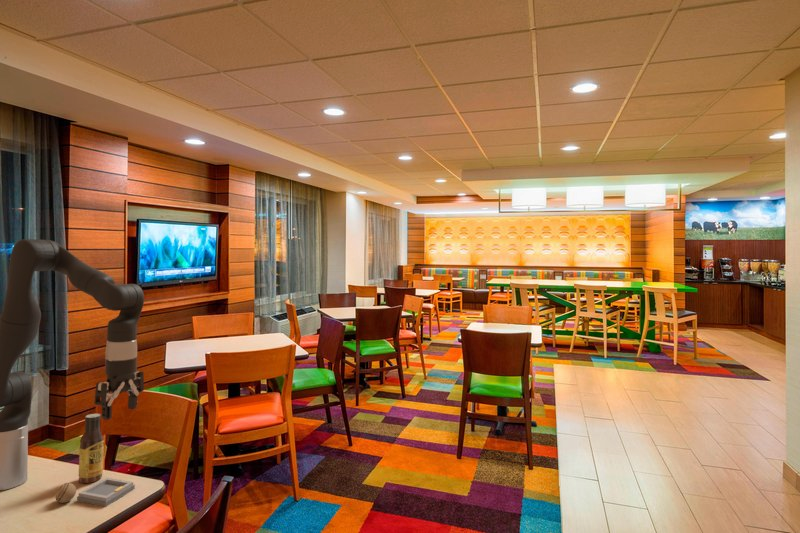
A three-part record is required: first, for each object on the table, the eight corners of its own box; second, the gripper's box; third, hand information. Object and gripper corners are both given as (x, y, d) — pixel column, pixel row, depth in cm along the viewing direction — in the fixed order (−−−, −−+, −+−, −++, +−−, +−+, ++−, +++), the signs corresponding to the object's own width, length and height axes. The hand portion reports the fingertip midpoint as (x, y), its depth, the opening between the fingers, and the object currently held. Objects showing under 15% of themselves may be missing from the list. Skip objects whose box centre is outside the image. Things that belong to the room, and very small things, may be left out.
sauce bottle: (90, 485, 139) (91, 420, 138) (73, 483, 140) (73, 418, 140) (108, 475, 145) (109, 413, 145) (91, 473, 146) (92, 411, 146)
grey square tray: (77, 501, 130) (77, 492, 130) (107, 484, 140) (107, 475, 140) (106, 506, 128) (106, 497, 128) (134, 488, 138) (134, 480, 138)
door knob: (66, 495, 133) (66, 478, 133) (80, 498, 132) (80, 481, 132) (49, 504, 128) (49, 487, 128) (64, 507, 127) (64, 489, 127)
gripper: (130, 349, 135) (129, 404, 136) (87, 360, 122) (86, 420, 122) (152, 352, 134) (150, 407, 134) (111, 363, 120) (109, 424, 120)
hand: (119, 413), depth 128 cm, fingers open, 8 cm apart
